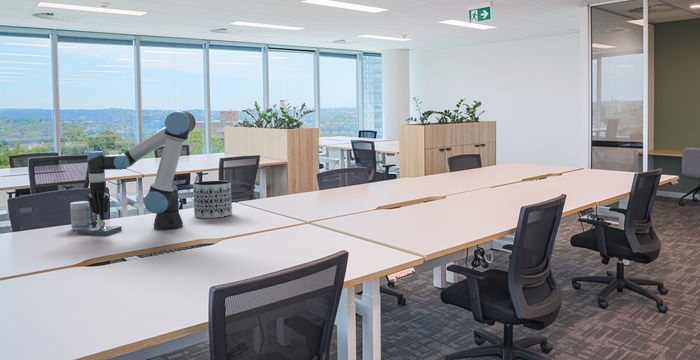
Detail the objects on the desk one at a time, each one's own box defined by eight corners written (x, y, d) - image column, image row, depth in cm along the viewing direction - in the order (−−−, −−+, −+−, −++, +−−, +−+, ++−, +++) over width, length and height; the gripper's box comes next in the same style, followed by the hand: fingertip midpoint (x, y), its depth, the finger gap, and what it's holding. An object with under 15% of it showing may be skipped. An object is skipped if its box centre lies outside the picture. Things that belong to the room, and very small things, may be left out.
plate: (121, 230, 284) (121, 226, 283) (106, 235, 272) (105, 230, 272) (93, 229, 288) (92, 225, 288) (76, 234, 277) (76, 229, 276)
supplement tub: (92, 229, 289) (90, 202, 288) (72, 231, 284) (70, 204, 283) (89, 226, 298) (87, 200, 296) (70, 228, 292) (68, 202, 291)
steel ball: (110, 229, 278) (105, 225, 279) (105, 230, 275) (101, 226, 276) (107, 234, 279) (103, 230, 280) (103, 235, 276) (98, 231, 276)
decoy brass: (106, 226, 285) (106, 220, 284) (102, 227, 282) (102, 221, 281) (101, 225, 285) (101, 220, 285) (97, 227, 282) (97, 221, 282)
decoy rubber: (98, 225, 286) (98, 219, 286) (94, 226, 283) (94, 221, 282) (93, 225, 287) (93, 219, 286) (89, 226, 284) (89, 220, 283)
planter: (227, 218, 315) (225, 184, 313) (189, 219, 315) (187, 185, 313) (235, 212, 337) (234, 180, 335) (200, 212, 338) (199, 180, 335)
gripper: (113, 180, 277) (116, 225, 280) (91, 180, 280) (95, 224, 283) (102, 182, 270) (106, 228, 273) (81, 182, 273) (84, 227, 276)
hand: (100, 226), depth 278 cm, fingers closed
